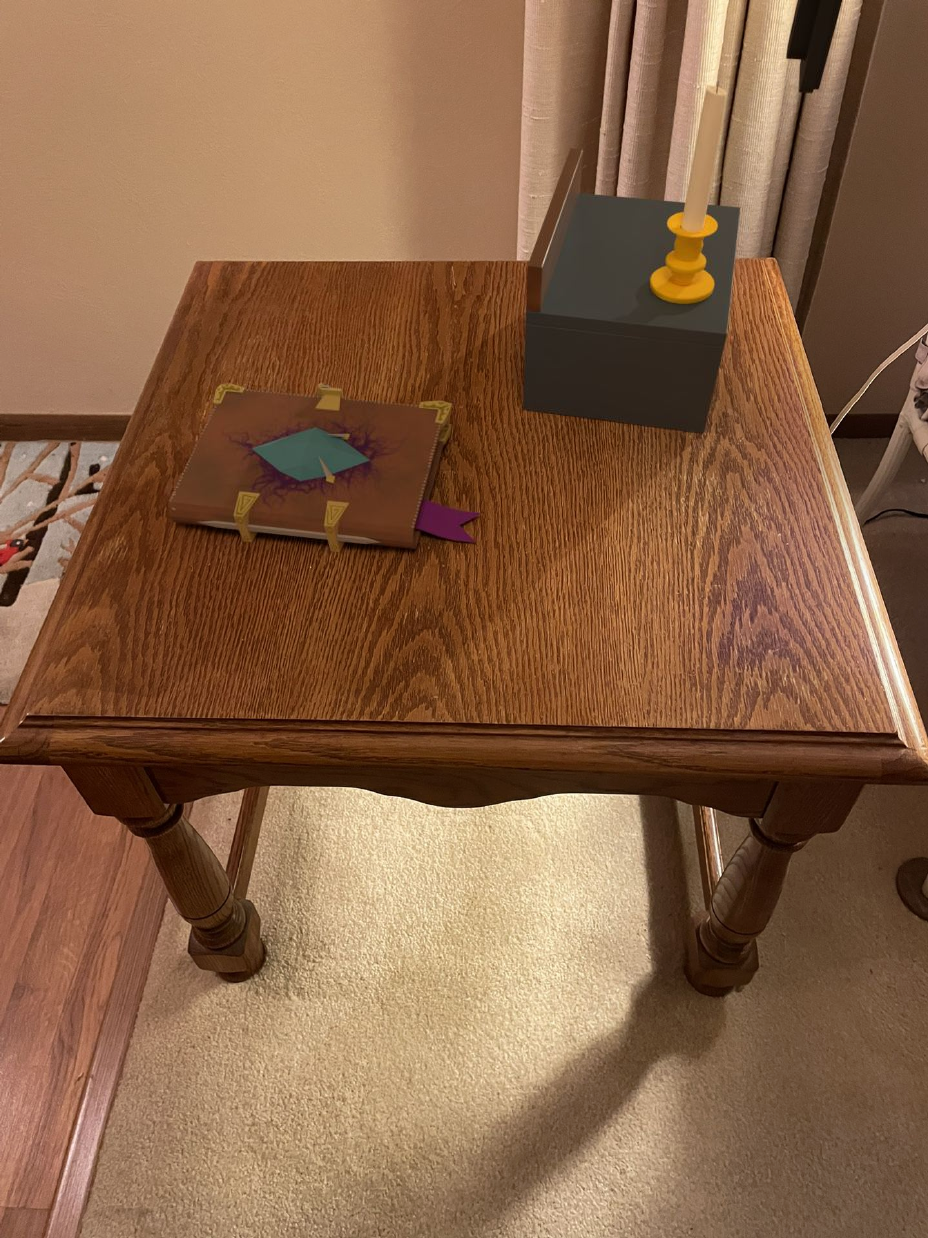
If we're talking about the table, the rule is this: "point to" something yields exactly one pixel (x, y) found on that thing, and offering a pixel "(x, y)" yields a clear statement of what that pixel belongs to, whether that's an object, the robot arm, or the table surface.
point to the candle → (694, 215)
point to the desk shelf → (621, 311)
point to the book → (319, 469)
